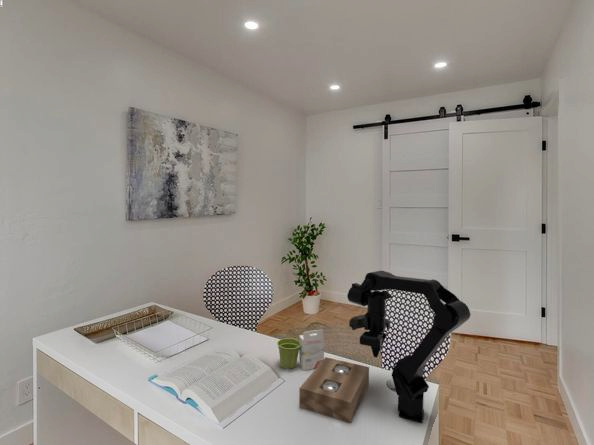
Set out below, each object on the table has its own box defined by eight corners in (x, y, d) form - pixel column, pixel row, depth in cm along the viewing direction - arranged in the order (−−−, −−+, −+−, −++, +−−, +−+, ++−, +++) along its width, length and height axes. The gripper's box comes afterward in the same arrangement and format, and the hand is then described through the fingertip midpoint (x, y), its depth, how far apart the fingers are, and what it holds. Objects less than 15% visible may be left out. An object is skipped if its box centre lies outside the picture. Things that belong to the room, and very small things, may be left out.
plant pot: (301, 360, 126) (301, 338, 126) (300, 372, 117) (300, 349, 116) (277, 358, 126) (278, 337, 126) (274, 370, 117) (275, 347, 117)
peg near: (340, 401, 99) (340, 383, 98) (335, 410, 94) (335, 391, 94) (325, 397, 101) (326, 379, 100) (320, 406, 96) (320, 387, 96)
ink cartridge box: (319, 361, 125) (319, 324, 124) (324, 367, 120) (324, 329, 119) (298, 364, 122) (298, 327, 121) (302, 371, 117) (303, 332, 117)
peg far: (350, 384, 109) (350, 367, 108) (346, 391, 104) (346, 374, 104) (337, 380, 111) (337, 364, 110) (332, 387, 106) (332, 370, 106)
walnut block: (368, 384, 109) (369, 367, 109) (350, 423, 89) (350, 402, 89) (325, 373, 116) (325, 357, 116) (299, 407, 96) (299, 388, 96)
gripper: (359, 299, 115) (358, 341, 115) (343, 314, 98) (343, 363, 99) (391, 303, 110) (390, 347, 110) (380, 320, 93) (379, 372, 94)
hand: (375, 356), depth 103 cm, fingers closed
